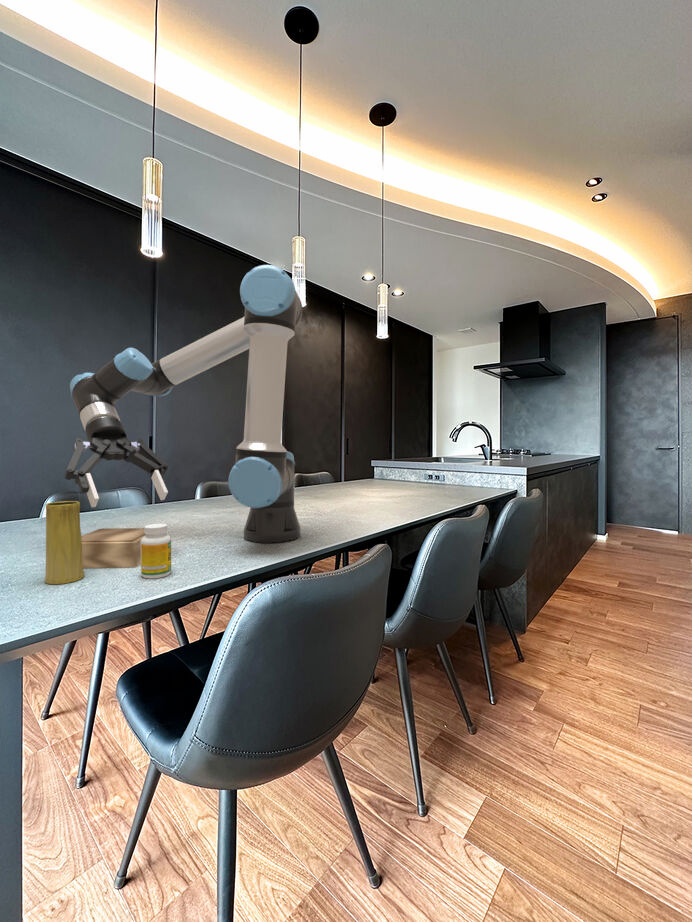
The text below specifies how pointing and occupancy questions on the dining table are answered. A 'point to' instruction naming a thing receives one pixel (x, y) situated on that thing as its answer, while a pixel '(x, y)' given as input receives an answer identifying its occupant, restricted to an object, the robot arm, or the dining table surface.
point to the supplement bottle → (155, 552)
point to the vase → (63, 543)
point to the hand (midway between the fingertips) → (131, 499)
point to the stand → (112, 548)
